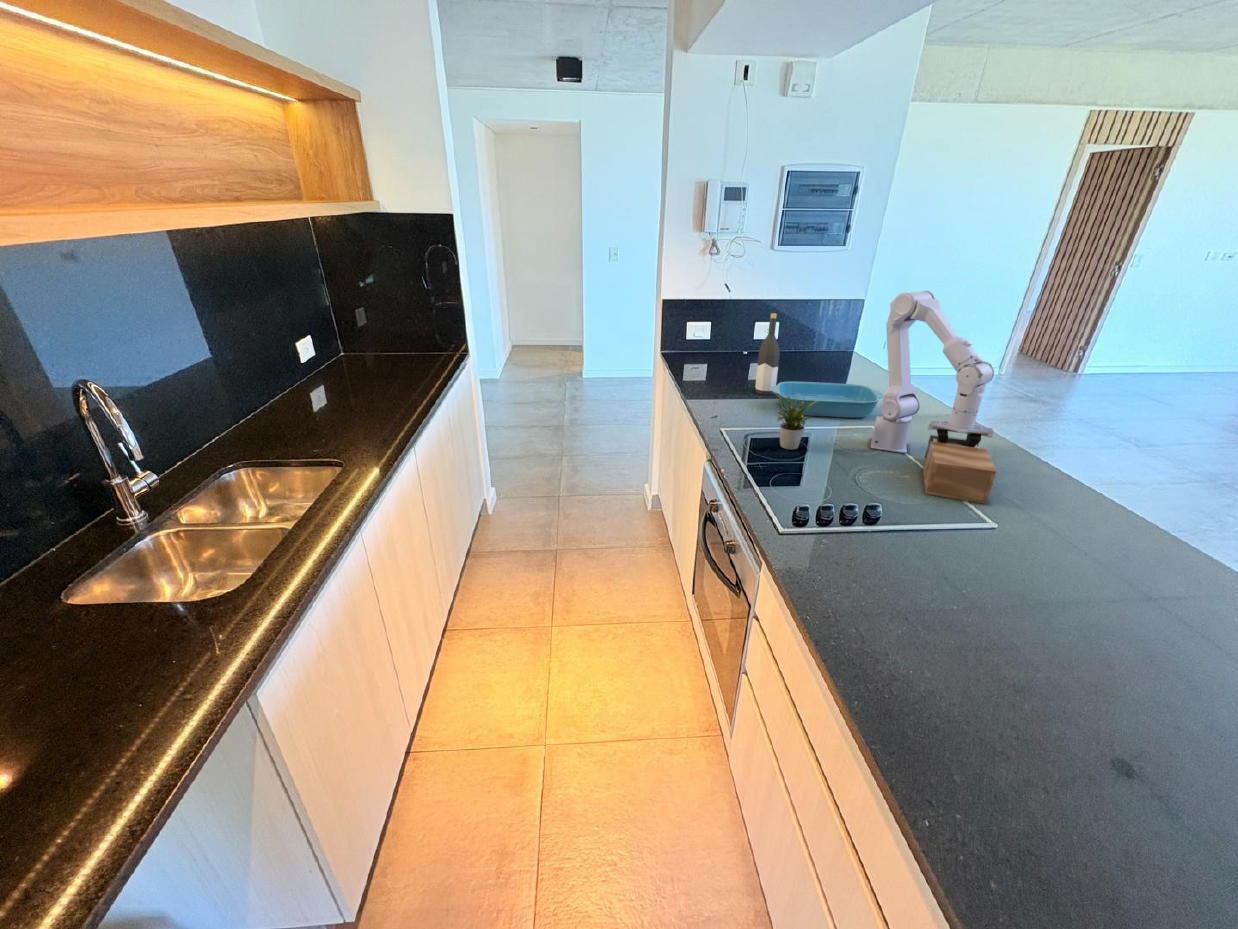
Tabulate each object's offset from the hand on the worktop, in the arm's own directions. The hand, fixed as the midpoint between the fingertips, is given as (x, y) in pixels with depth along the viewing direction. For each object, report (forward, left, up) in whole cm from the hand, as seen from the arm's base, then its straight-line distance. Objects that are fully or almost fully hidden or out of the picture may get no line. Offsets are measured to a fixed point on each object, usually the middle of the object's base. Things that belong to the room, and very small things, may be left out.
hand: (951, 457), depth 141 cm
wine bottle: (-59, +52, -3) cm, 78 cm away
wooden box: (0, -11, -3) cm, 12 cm away
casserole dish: (-36, +39, -4) cm, 53 cm away
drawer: (0, 0, -3) cm, 3 cm away
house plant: (-43, -1, -4) cm, 43 cm away
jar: (0, 0, -1) cm, 1 cm away
